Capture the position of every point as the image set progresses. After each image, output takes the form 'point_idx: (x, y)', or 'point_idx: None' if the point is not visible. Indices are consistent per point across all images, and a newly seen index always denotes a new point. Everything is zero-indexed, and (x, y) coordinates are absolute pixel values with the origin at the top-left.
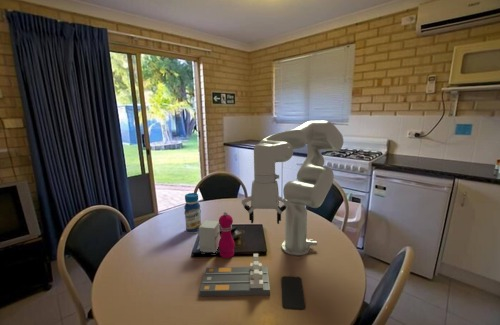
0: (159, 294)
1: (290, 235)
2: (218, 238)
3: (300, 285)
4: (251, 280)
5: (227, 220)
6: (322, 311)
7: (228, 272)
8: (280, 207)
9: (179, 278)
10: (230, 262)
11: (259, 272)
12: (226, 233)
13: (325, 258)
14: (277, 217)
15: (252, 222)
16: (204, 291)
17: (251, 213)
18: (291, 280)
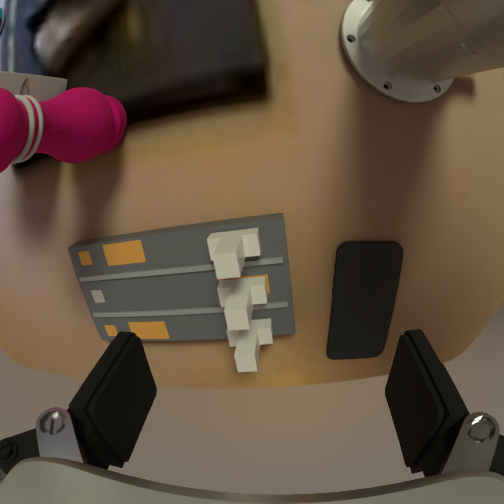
0: (37, 322)
1: (414, 58)
2: (38, 96)
3: (393, 283)
4: (231, 333)
5: None
6: None
7: (139, 266)
8: (489, 466)
9: (36, 273)
10: (127, 175)
11: (254, 294)
12: (37, 151)
13: (493, 128)
14: (402, 440)
15: (150, 398)
16: (112, 339)
17: (111, 462)
18: (369, 264)
